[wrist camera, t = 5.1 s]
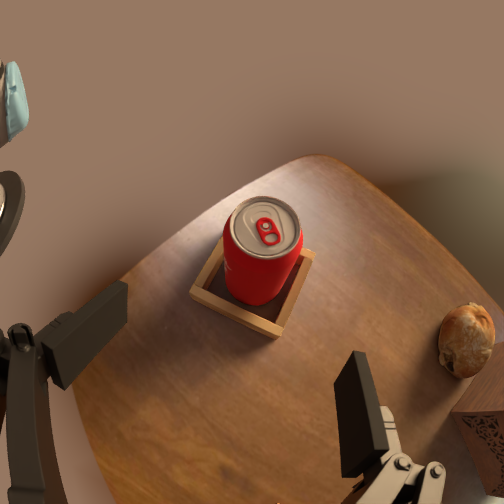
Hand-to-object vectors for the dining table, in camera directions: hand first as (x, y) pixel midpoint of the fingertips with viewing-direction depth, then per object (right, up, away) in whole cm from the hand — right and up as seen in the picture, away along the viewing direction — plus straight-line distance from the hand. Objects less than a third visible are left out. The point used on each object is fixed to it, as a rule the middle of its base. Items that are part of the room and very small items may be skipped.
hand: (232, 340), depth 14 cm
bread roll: (+30, -8, +14) cm, 34 cm away
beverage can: (+1, +2, +17) cm, 17 cm away
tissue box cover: (+40, -23, +8) cm, 47 cm away
